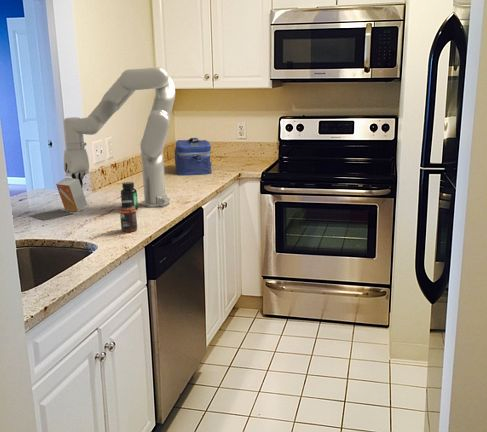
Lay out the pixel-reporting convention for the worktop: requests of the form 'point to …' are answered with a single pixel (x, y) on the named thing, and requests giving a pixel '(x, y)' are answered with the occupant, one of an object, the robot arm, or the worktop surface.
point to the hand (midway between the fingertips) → (79, 188)
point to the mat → (51, 214)
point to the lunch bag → (193, 157)
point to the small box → (71, 194)
